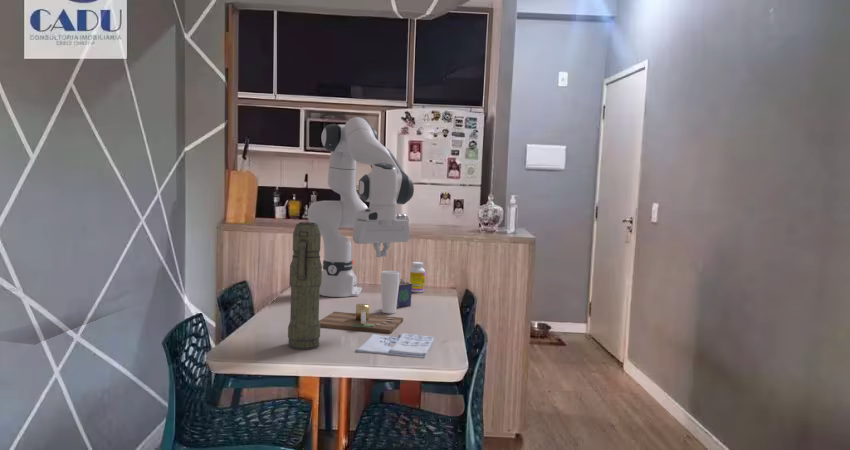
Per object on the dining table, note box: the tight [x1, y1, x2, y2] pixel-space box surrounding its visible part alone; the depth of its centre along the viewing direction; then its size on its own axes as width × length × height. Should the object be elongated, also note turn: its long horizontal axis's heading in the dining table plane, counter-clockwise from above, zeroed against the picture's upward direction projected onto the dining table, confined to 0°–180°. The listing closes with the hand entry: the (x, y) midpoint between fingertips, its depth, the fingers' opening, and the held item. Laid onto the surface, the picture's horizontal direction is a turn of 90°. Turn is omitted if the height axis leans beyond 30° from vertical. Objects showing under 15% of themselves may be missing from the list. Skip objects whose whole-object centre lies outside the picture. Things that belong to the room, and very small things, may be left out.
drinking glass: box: [380, 270, 401, 315], centre depth 205 cm, size 7×7×15 cm
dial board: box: [319, 311, 404, 334], centre depth 187 cm, size 18×25×2 cm
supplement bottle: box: [409, 261, 426, 294], centre depth 248 cm, size 7×7×13 cm
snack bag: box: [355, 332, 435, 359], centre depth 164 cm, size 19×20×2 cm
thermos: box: [287, 221, 323, 351], centre depth 159 cm, size 9×12×35 cm
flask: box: [396, 278, 413, 309], centre depth 216 cm, size 9×3×11 cm, turn 134°
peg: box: [355, 303, 370, 324], centre depth 185 cm, size 11×4×5 cm, turn 8°
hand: (381, 256), depth 182 cm, fingers closed
